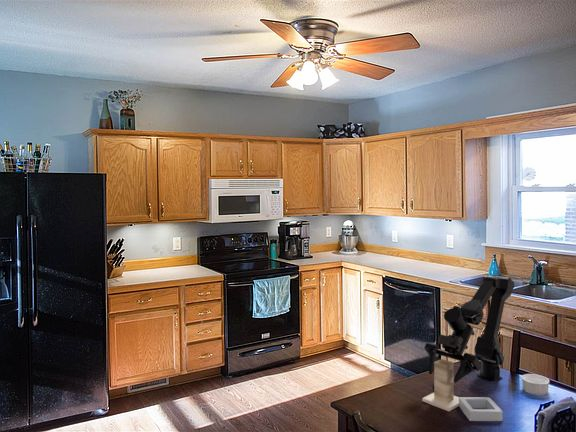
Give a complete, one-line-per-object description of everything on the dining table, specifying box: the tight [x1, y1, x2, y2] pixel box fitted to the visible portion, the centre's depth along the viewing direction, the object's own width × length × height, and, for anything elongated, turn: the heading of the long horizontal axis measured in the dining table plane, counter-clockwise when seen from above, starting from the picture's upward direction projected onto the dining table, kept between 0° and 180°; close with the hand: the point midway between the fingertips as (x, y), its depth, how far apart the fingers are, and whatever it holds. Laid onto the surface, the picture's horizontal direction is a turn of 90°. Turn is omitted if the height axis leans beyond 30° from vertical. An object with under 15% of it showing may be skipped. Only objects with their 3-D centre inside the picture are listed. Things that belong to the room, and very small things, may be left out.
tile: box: [421, 392, 460, 412], centre depth 156 cm, size 10×10×1 cm
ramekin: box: [520, 373, 550, 396], centre depth 164 cm, size 9×9×4 cm
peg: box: [433, 358, 455, 403], centre depth 155 cm, size 4×4×12 cm
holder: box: [458, 396, 504, 422], centre depth 147 cm, size 10×10×3 cm
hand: (441, 377), depth 154 cm, fingers open, 9 cm apart
